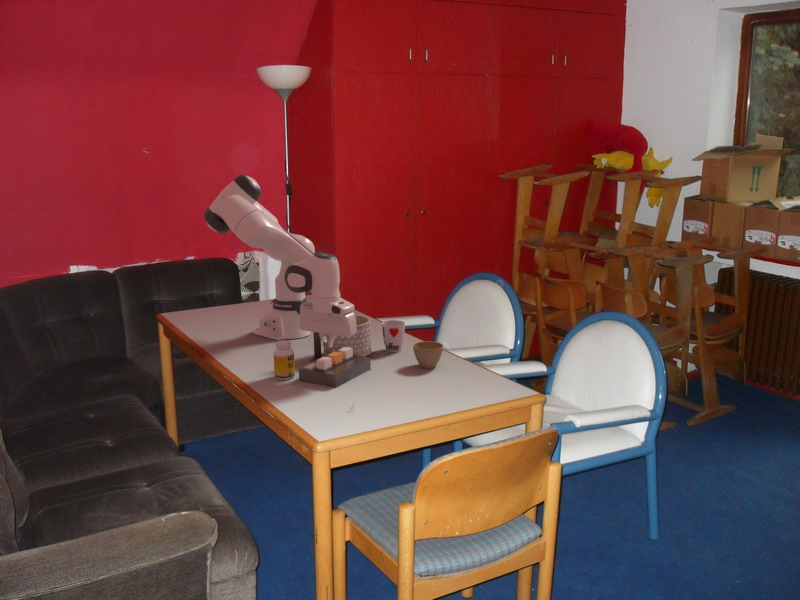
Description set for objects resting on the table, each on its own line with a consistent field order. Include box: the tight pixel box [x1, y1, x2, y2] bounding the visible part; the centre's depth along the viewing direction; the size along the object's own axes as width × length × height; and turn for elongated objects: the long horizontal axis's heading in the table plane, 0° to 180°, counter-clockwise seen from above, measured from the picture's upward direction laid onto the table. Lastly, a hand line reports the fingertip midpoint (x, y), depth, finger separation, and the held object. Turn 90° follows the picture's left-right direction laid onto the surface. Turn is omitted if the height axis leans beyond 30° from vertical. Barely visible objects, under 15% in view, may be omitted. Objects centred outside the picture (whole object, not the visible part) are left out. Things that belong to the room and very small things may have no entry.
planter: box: [323, 314, 372, 357], centre depth 261 cm, size 16×16×13 cm
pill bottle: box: [273, 339, 296, 381], centre depth 239 cm, size 6×6×12 cm
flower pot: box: [412, 340, 444, 369], centre depth 249 cm, size 10×10×7 cm
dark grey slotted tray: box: [298, 355, 372, 388], centre depth 242 cm, size 14×20×4 cm
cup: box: [381, 319, 406, 353], centre depth 267 cm, size 8×8×10 cm
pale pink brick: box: [338, 347, 353, 359], centre depth 246 cm, size 3×4×3 cm
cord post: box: [310, 332, 323, 363], centre depth 254 cm, size 5×5×16 cm
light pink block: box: [316, 356, 332, 370], centre depth 236 cm, size 3×4×3 cm
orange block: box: [328, 352, 343, 364], centre depth 241 cm, size 3×4×3 cm
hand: (327, 346), depth 241 cm, fingers closed
